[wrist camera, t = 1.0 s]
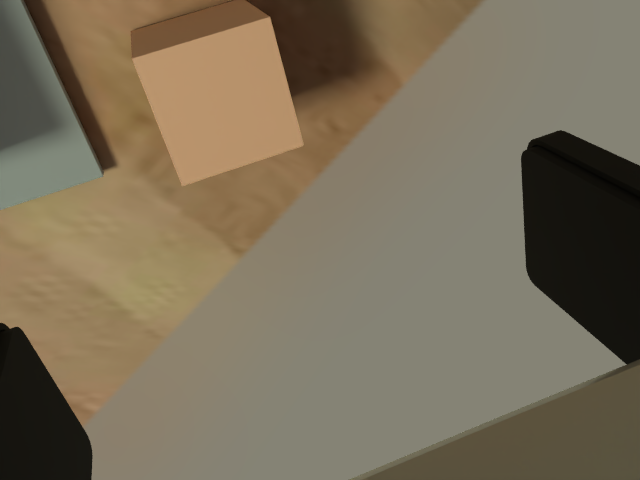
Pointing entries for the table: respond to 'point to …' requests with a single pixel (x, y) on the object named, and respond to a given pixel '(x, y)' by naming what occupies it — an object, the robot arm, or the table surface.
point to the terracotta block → (216, 88)
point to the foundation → (36, 117)
